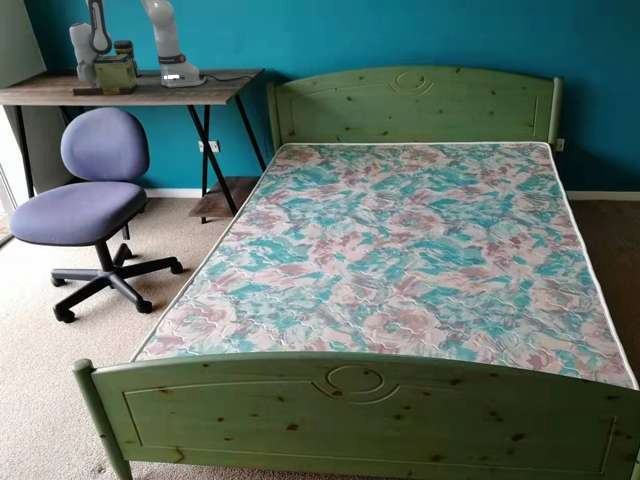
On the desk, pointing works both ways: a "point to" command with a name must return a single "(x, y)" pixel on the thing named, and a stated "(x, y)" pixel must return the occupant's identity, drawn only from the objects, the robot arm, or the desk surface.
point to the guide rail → (102, 91)
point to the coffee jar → (126, 52)
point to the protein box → (115, 71)
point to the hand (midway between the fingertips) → (94, 86)
